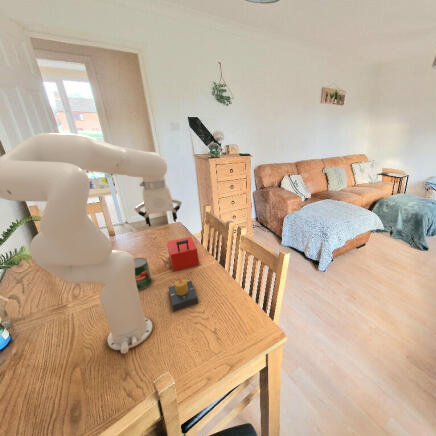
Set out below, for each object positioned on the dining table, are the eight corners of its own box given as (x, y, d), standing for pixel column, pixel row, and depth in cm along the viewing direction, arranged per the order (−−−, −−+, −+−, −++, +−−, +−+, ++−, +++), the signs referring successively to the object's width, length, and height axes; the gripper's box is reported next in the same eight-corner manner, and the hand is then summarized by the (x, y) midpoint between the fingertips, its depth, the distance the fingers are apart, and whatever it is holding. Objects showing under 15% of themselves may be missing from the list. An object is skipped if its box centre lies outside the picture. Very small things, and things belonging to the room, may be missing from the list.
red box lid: (197, 250, 115) (196, 239, 112) (170, 256, 109) (169, 245, 107) (191, 238, 126) (189, 228, 124) (166, 242, 120) (165, 232, 118)
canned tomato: (146, 276, 109) (141, 255, 104) (155, 282, 105) (150, 261, 100) (127, 285, 103) (121, 263, 98) (136, 292, 99) (130, 270, 94)
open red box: (198, 264, 119) (197, 249, 115) (173, 271, 113) (170, 255, 109) (193, 252, 129) (191, 238, 126) (169, 257, 123) (166, 243, 120)
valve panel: (198, 303, 94) (197, 296, 93) (173, 311, 90) (172, 304, 89) (191, 286, 104) (191, 280, 103) (169, 292, 99) (168, 286, 98)
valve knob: (189, 293, 95) (187, 283, 93) (177, 297, 93) (175, 287, 91) (187, 287, 98) (185, 277, 97) (175, 290, 96) (173, 280, 94)
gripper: (129, 189, 87) (139, 230, 95) (179, 184, 96) (185, 222, 103) (128, 184, 93) (138, 223, 100) (176, 179, 102) (182, 216, 109)
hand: (162, 222), depth 102 cm, fingers open, 9 cm apart
